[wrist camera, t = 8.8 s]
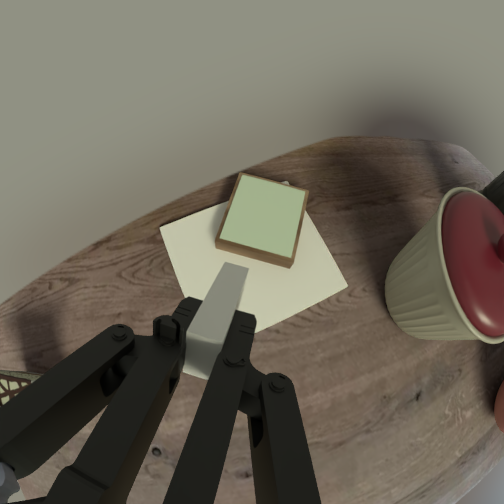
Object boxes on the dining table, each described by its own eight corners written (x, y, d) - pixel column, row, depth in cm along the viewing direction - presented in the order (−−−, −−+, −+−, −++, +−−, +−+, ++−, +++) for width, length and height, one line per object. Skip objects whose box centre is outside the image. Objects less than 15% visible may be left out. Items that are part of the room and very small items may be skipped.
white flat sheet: (286, 182, 41) (287, 180, 40) (346, 287, 35) (348, 286, 35) (160, 229, 36) (159, 227, 36) (209, 352, 31) (208, 353, 31)
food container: (27, 407, 24) (-15, 411, 15) (21, 370, 27) (-21, 367, 17) (84, 419, 26) (44, 433, 16) (78, 378, 28) (34, 381, 19)
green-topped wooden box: (294, 262, 32) (309, 189, 36) (214, 240, 33) (239, 171, 37) (289, 269, 35) (304, 199, 39) (215, 248, 35) (239, 182, 39)
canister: (346, 257, 37) (435, 168, 17) (427, 230, 40) (506, 162, 20) (387, 375, 31) (509, 374, 11) (462, 325, 34) (558, 293, 14)
